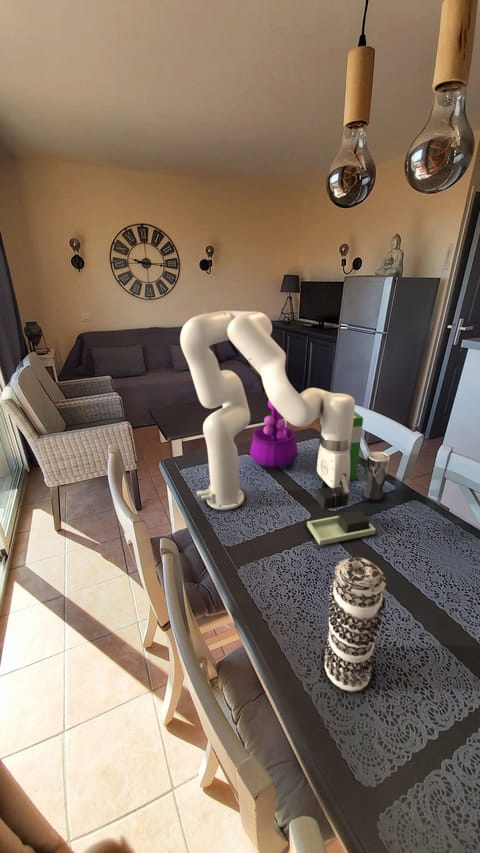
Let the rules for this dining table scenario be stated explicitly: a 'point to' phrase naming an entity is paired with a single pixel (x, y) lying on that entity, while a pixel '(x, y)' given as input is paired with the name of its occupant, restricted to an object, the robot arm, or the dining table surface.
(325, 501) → the black rectangular block
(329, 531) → the tray
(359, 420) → the hardback book
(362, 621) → the decorative candle
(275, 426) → the decorative plant
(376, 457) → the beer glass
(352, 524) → the seated pad
